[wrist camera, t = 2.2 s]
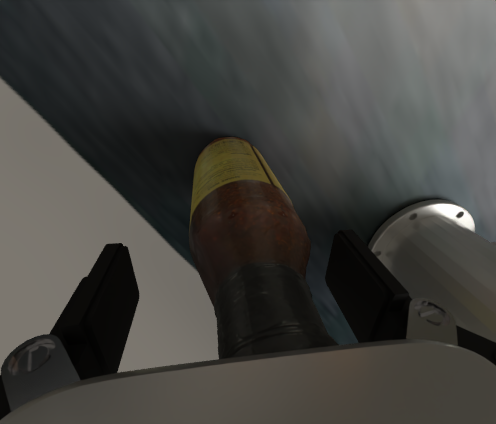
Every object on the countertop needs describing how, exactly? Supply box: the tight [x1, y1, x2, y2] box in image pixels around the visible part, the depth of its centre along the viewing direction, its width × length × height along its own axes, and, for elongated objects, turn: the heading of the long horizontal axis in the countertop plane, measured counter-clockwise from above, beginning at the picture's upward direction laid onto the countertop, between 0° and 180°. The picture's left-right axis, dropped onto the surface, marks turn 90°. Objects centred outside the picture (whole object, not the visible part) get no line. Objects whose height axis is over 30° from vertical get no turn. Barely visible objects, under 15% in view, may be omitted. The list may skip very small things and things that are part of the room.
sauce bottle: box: [189, 137, 339, 359], centre depth 15 cm, size 6×6×20 cm
